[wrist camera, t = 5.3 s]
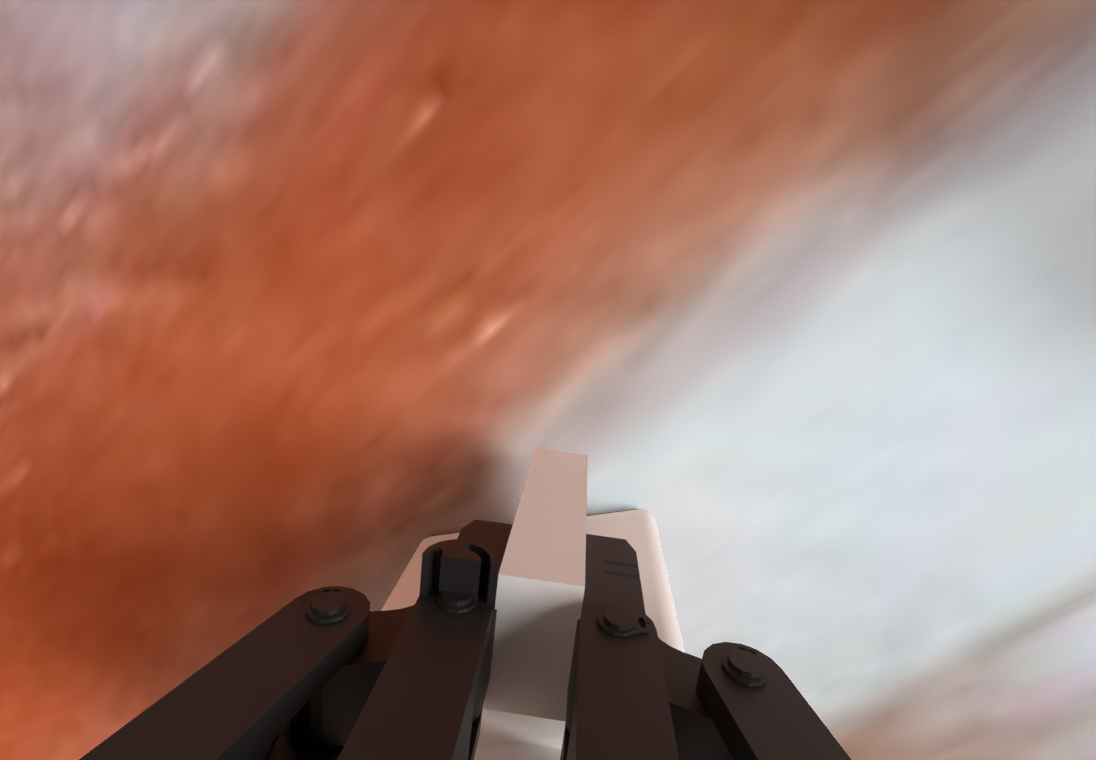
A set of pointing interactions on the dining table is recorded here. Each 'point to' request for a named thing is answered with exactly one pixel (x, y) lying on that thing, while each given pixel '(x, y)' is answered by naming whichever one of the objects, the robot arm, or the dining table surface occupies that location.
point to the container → (535, 743)
